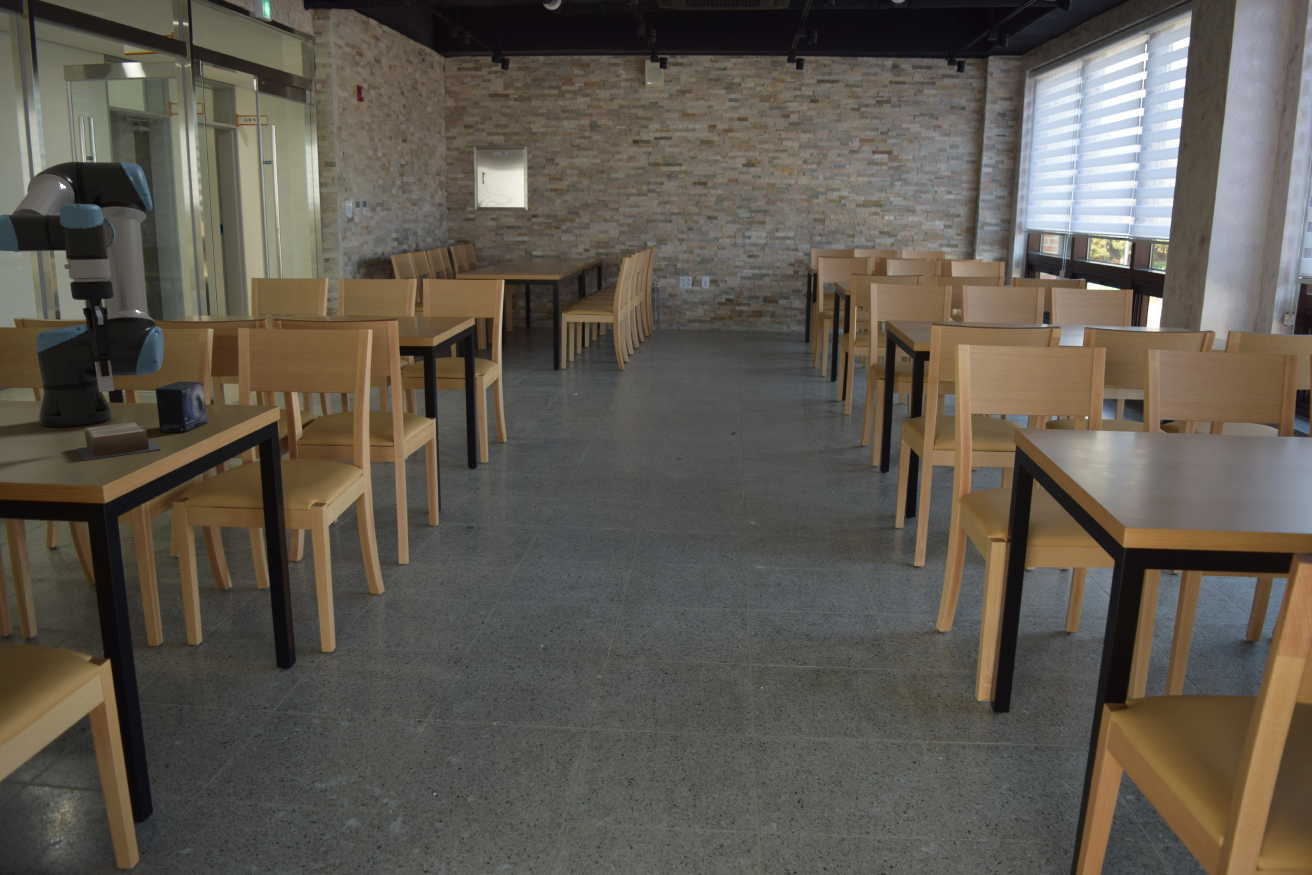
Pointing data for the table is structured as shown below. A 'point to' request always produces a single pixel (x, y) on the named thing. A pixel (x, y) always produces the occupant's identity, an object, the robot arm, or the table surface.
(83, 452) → the mat
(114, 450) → the brown rectangular box
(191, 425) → the small box
